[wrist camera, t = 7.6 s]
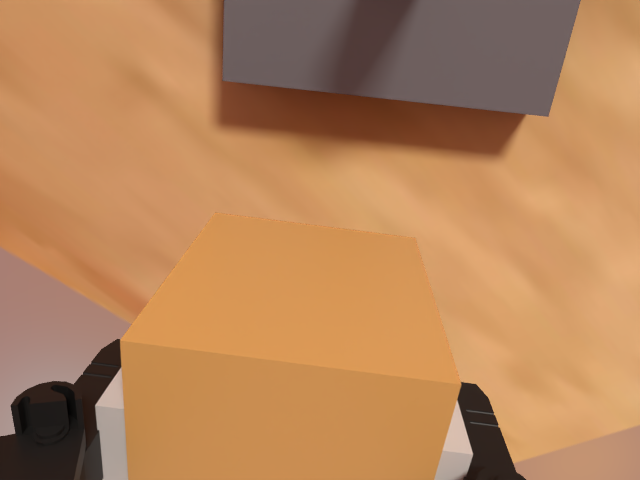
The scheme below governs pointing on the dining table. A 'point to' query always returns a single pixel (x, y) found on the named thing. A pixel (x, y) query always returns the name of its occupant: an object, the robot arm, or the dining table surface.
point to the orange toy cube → (289, 359)
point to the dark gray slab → (404, 49)
